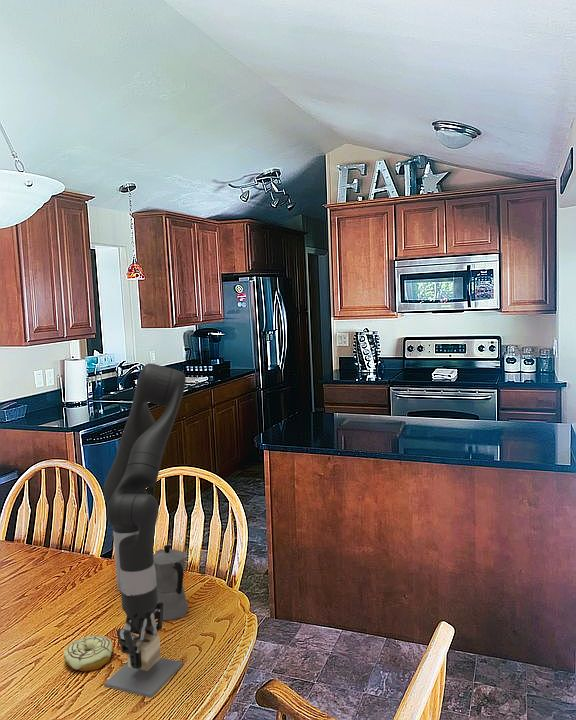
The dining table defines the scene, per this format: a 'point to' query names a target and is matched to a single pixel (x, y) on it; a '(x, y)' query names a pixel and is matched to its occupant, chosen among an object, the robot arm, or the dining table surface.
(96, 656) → the decorated donut
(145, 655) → the letter block
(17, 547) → the dining table surface
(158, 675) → the slate coaster
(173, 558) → the coffeepot
